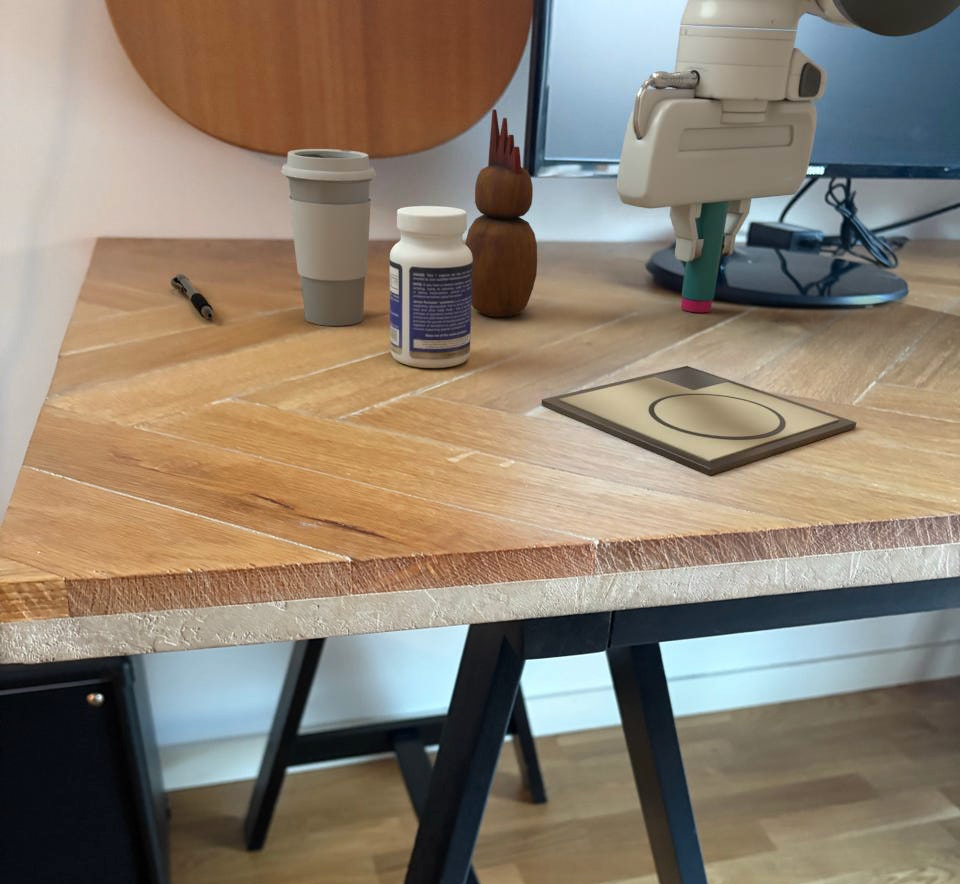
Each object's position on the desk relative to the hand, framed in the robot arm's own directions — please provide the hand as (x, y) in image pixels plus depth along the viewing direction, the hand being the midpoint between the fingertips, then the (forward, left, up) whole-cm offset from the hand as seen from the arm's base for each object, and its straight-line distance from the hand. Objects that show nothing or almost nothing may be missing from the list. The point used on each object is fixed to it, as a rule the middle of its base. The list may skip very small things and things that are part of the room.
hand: (703, 257), depth 85 cm
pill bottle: (+29, 0, -4) cm, 29 cm away
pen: (+37, -23, -4) cm, 44 cm away
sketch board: (+22, +19, -4) cm, 29 cm away
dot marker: (0, 0, -4) cm, 4 cm away
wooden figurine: (+16, -8, -4) cm, 18 cm away
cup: (+29, -13, -4) cm, 32 cm away
